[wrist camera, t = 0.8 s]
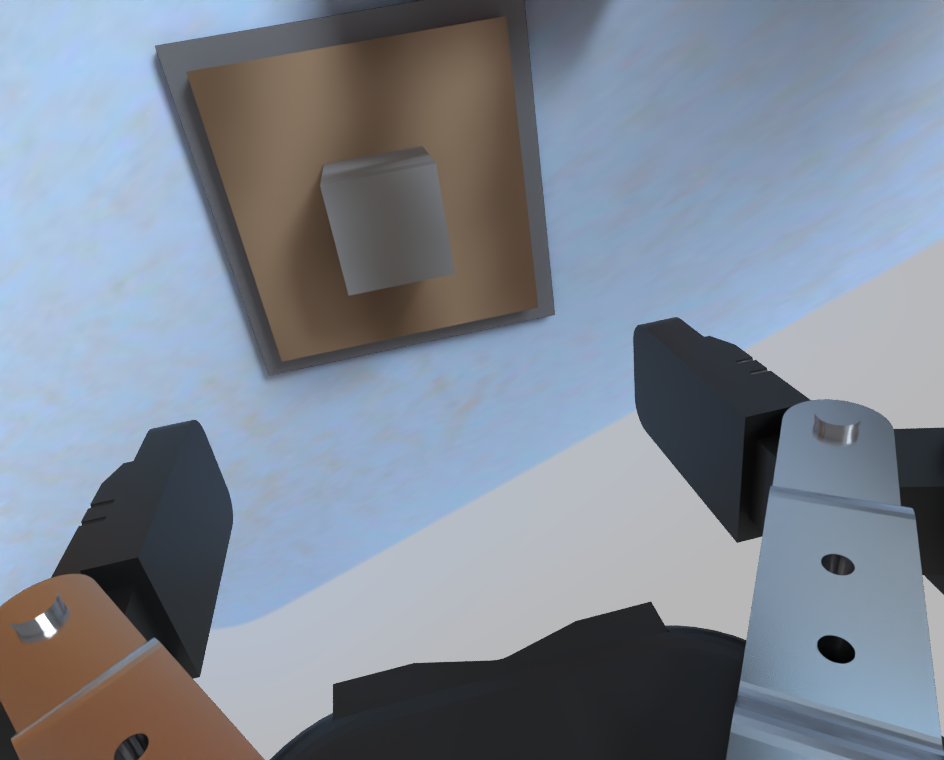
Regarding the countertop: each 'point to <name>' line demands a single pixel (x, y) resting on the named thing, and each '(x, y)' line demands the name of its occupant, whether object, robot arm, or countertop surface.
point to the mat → (438, 7)
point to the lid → (376, 184)
